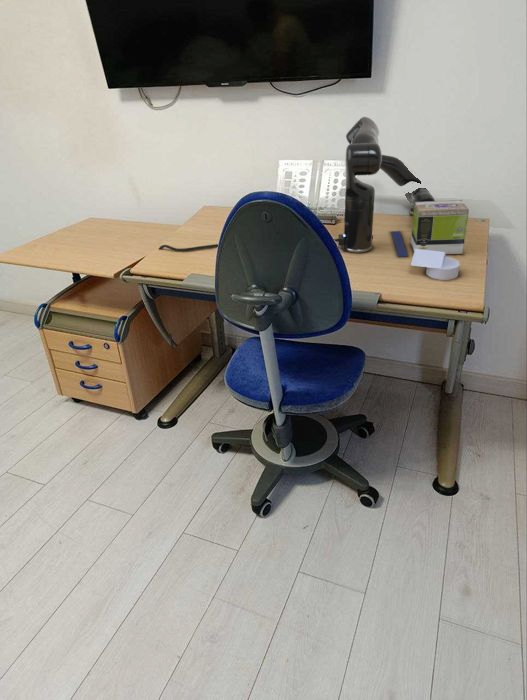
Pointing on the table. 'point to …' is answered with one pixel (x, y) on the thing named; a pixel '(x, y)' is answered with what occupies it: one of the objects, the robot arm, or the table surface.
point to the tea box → (439, 226)
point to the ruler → (399, 244)
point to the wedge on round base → (436, 264)
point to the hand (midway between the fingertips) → (431, 219)
